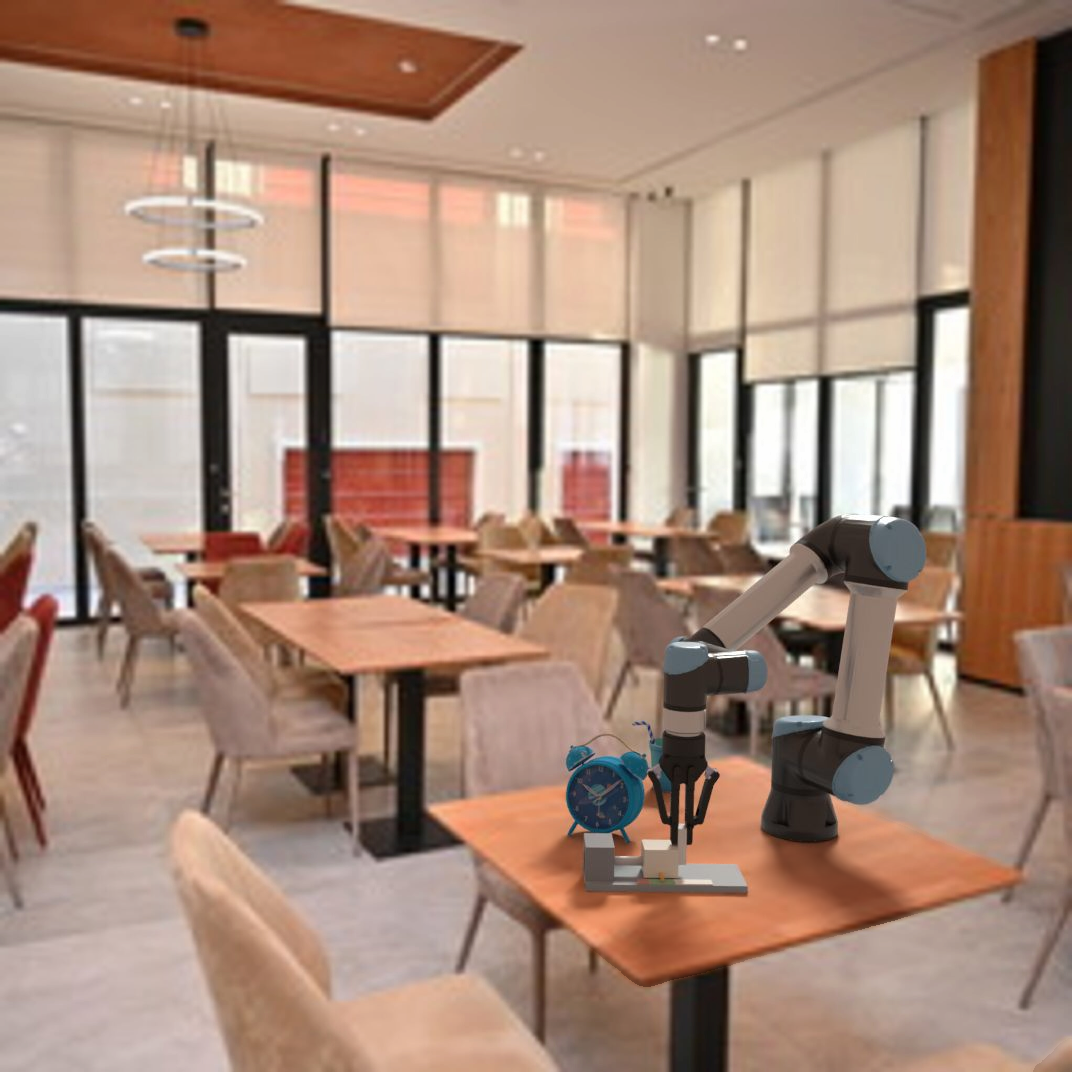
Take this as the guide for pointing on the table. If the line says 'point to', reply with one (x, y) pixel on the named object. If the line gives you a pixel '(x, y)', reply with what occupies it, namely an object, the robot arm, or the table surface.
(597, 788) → the alarm clock
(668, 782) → the cup
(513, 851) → the table surface
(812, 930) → the table surface
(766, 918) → the table surface
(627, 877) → the gauge board
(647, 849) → the plunger
